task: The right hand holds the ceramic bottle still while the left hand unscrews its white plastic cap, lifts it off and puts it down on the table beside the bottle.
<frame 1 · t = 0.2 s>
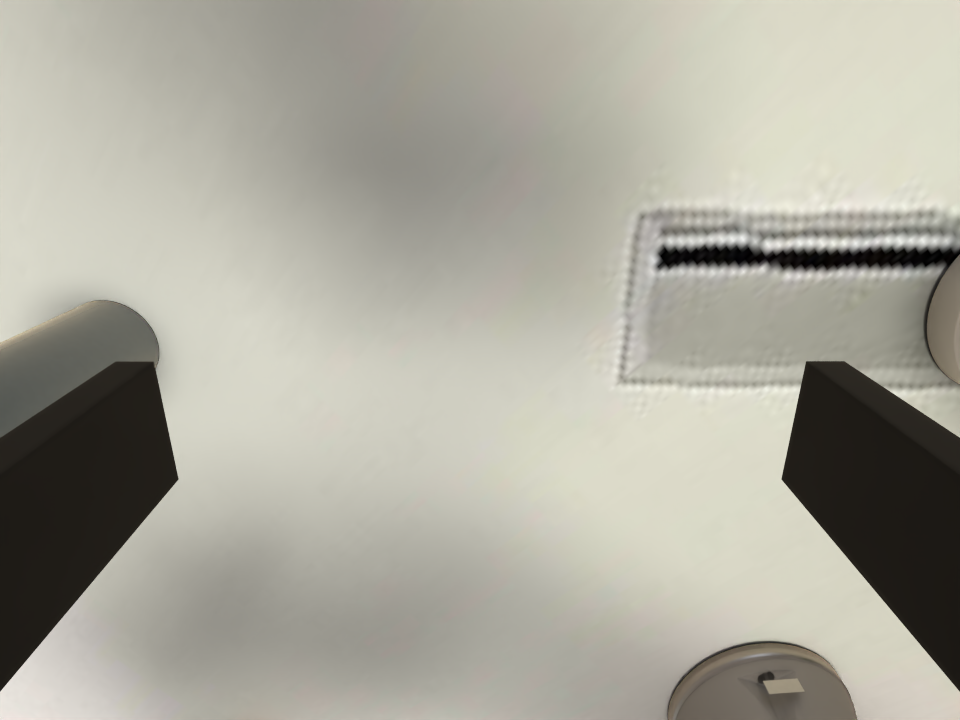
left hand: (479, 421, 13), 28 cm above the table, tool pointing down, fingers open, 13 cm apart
bottle: (112, 344, 42), on the table
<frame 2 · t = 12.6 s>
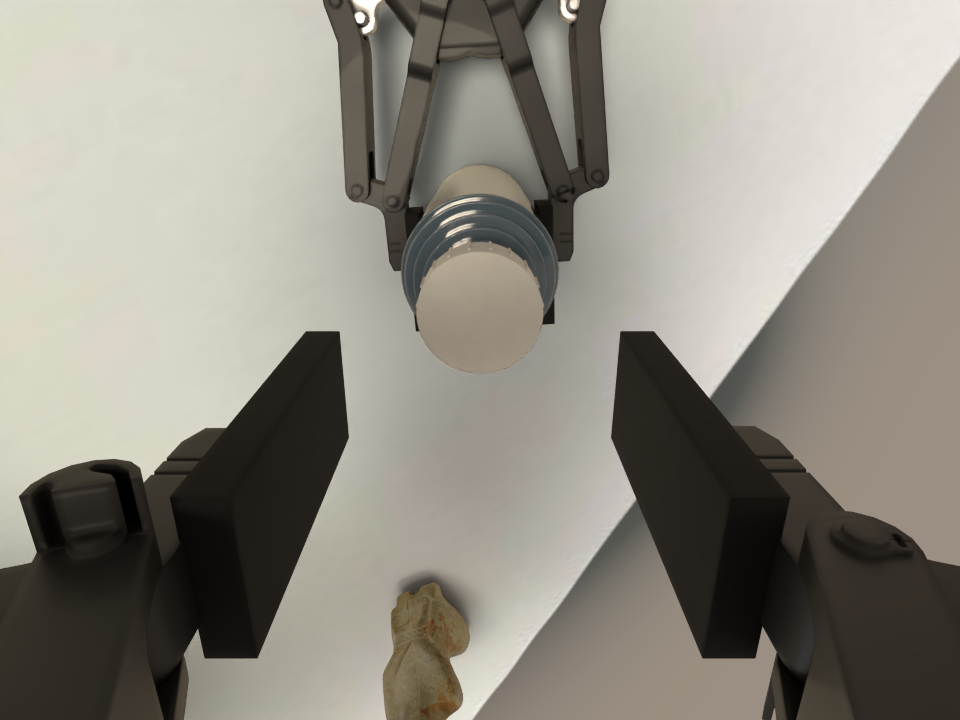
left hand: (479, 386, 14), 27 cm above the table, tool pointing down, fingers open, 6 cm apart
right hand: (484, 319, 36), fingers closed on bottle, 6 cm apart
bottle: (479, 215, 40), on the table, touching right hand
sculpture: (432, 606, 52), on the table
cap: (479, 312, 20), point 22 cm above the table, screwed on, not yet turned
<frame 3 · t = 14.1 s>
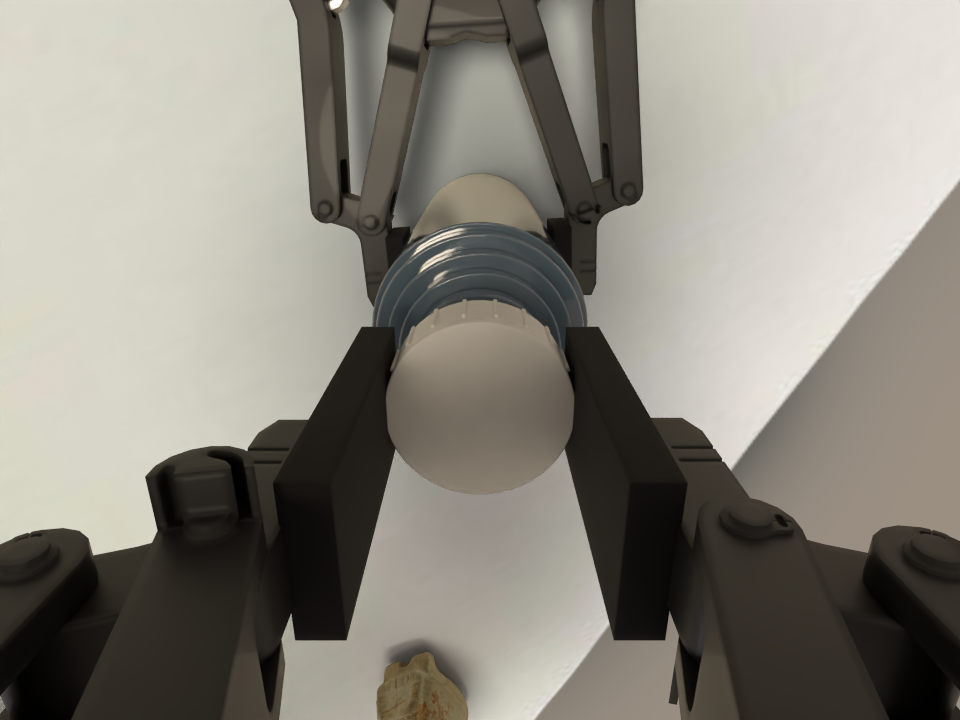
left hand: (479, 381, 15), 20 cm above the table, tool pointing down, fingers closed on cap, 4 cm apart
right hand: (486, 364, 29), fingers closed on bottle, 6 cm apart
bottle: (479, 234, 33), on the table, touching right hand
sculpture: (425, 677, 45), on the table
cap: (480, 407, 13), point 22 cm above the table, screwed on, not yet turned, touching left hand
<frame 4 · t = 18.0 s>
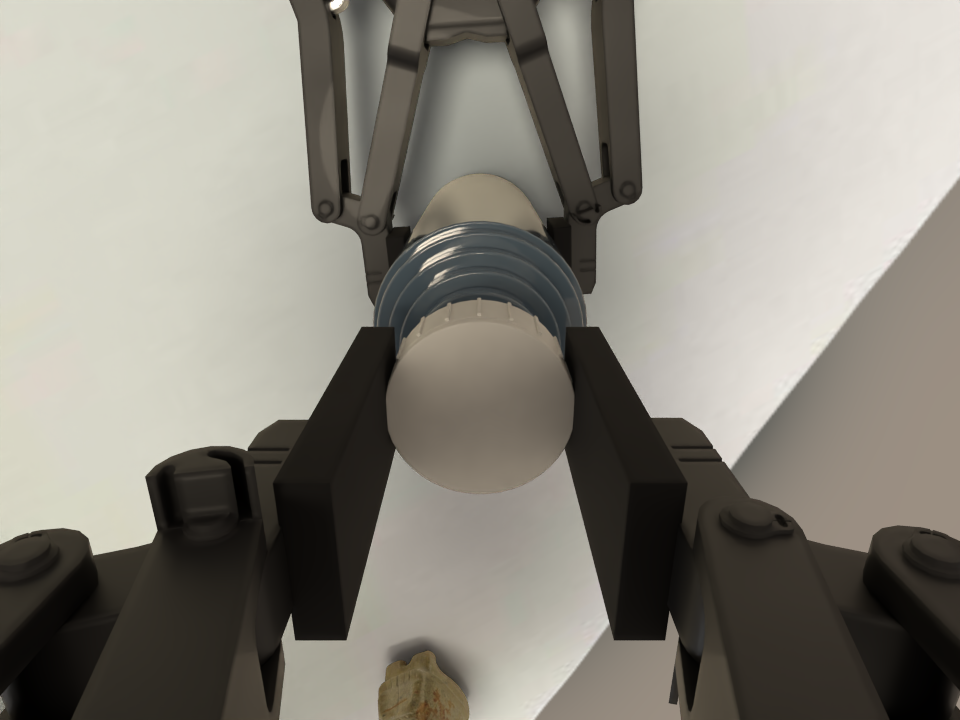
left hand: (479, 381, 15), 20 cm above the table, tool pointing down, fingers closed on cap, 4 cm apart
right hand: (486, 363, 29), fingers closed on bottle, 6 cm apart
bottle: (480, 233, 33), on the table, touching right hand
sculpture: (426, 675, 45), on the table
cap: (480, 406, 13), point 22 cm above the table, turned 142° so far, risen 0.1 cm, still on its thread, touching left hand
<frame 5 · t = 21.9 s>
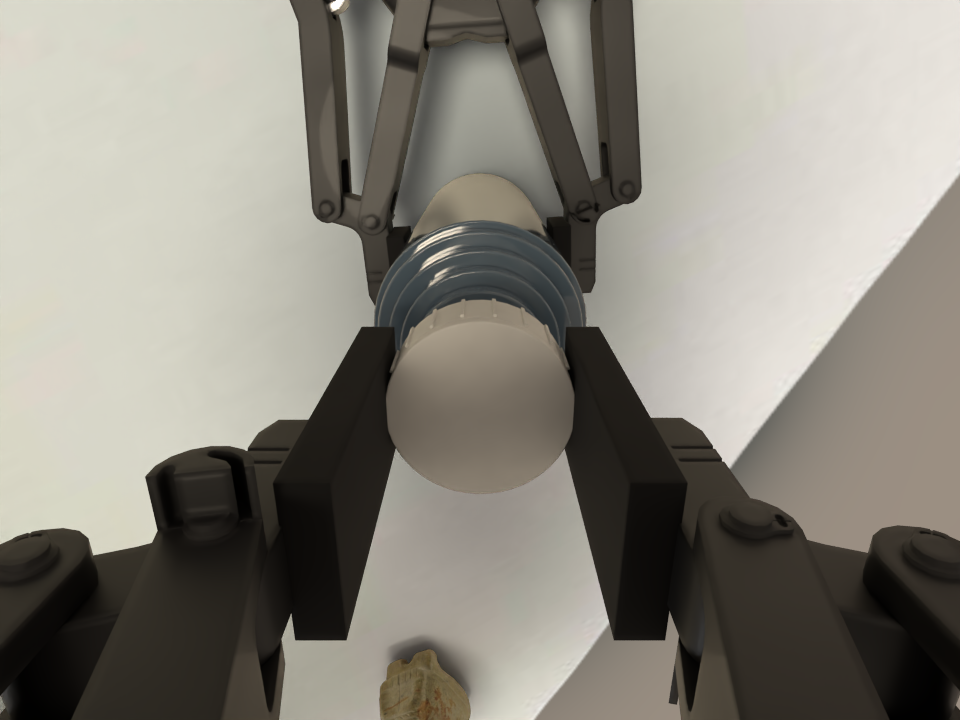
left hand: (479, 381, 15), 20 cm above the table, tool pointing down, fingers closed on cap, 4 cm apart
right hand: (486, 362, 29), fingers closed on bottle, 6 cm apart
bottle: (480, 233, 33), on the table, touching right hand
sculpture: (427, 674, 45), on the table
cap: (480, 406, 13), point 22 cm above the table, turned 285° so far, risen 0.2 cm, still on its thread, touching left hand
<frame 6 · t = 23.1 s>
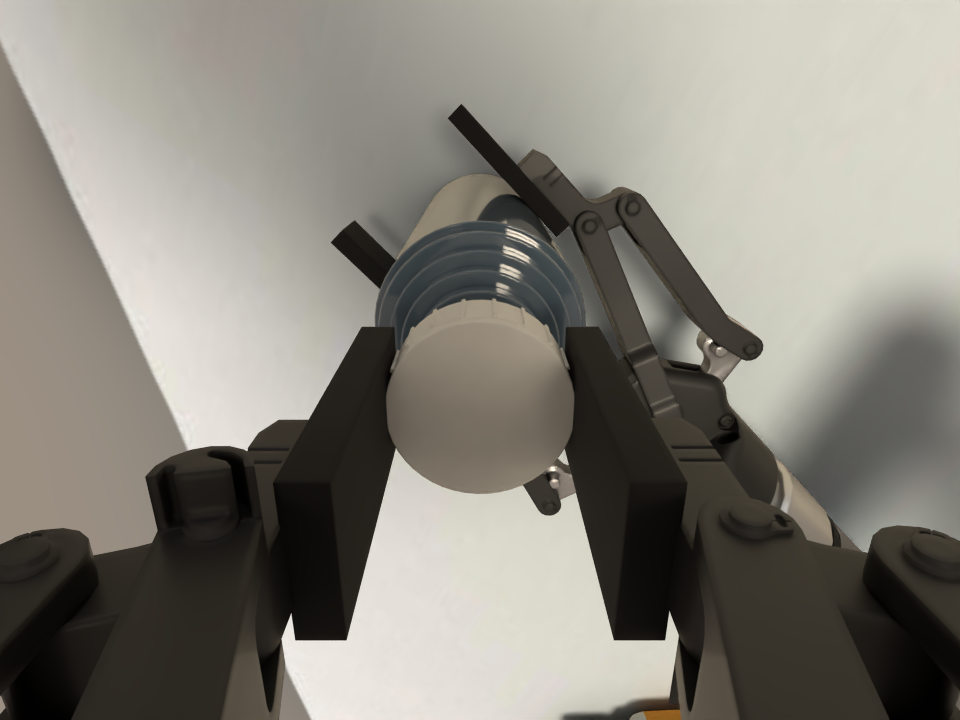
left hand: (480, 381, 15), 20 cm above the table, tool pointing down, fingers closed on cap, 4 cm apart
right hand: (398, 174, 26), fingers closed on bottle, 6 cm apart
bottle: (480, 233, 34), on the table, touching right hand
cap: (480, 406, 13), point 22 cm above the table, off its thread, touching left hand
when the left hand's fingers open (1 cm above the table, at t = 30.6 s): cap drops 1 cm, point 1 cm above the table.
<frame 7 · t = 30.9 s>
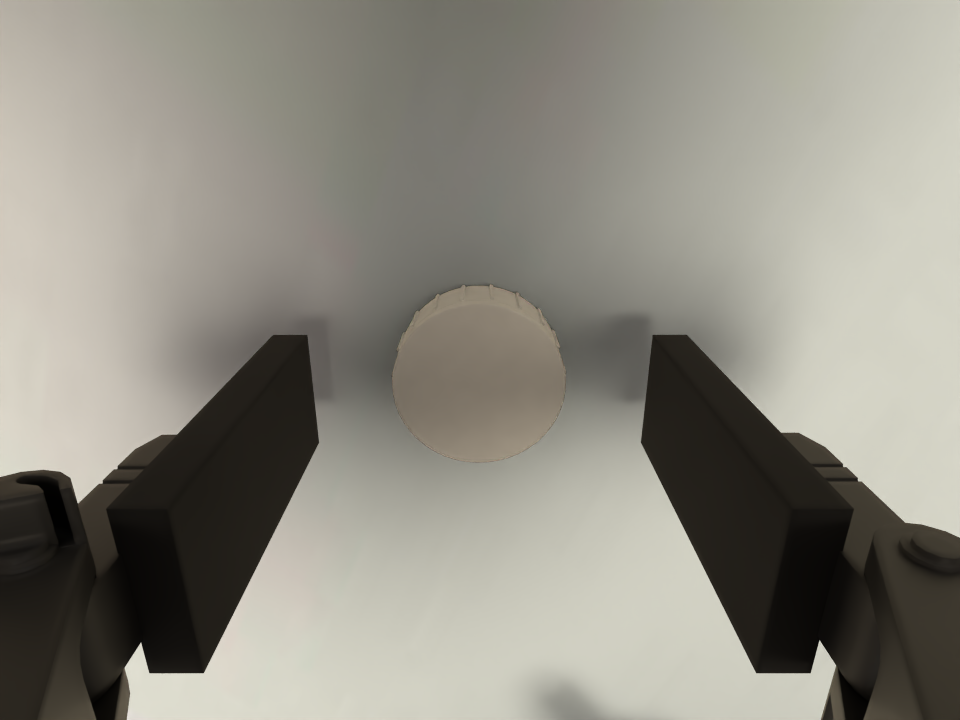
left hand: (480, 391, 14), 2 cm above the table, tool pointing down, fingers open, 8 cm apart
cap: (478, 382, 15), point 1 cm above the table, off its thread
when the right hand's fingers open (6 cm above the table, at t = 31.8 s): bottle stays where it is, on the table.
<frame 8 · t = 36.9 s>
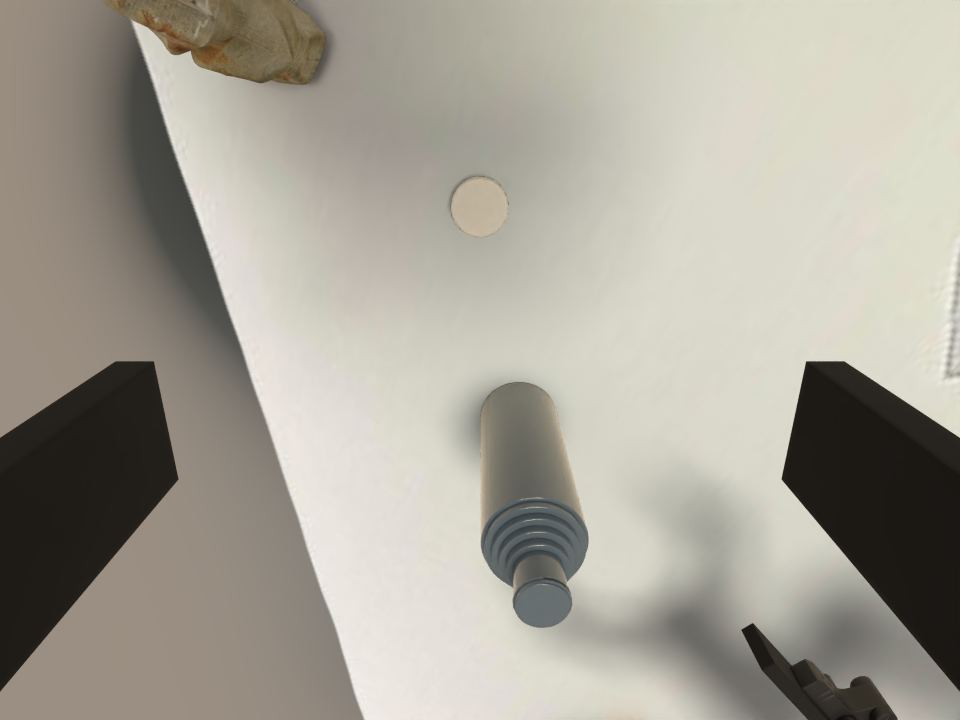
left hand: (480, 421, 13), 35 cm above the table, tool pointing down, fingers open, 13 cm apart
bottle: (518, 416, 51), on the table
sculpture: (279, 38, 41), on the table
cap: (479, 207, 44), point 1 cm above the table, off its thread
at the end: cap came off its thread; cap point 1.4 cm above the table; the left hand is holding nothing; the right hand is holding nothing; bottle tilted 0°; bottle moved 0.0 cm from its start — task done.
